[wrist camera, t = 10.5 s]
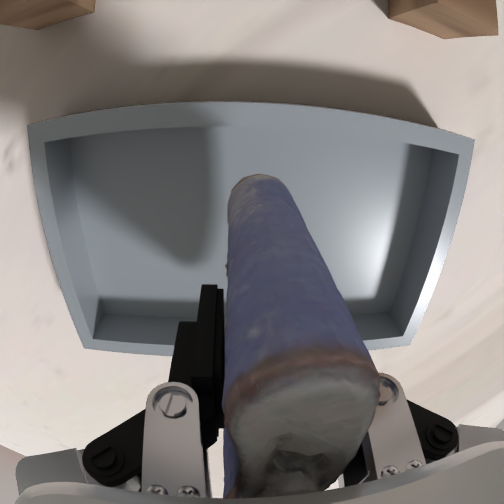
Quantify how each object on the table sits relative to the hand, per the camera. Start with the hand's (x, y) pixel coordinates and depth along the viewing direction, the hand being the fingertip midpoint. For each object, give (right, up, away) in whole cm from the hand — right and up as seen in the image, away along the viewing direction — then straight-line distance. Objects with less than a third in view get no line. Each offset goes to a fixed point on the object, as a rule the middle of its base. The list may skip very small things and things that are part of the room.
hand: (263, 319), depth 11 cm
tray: (0, +4, +7) cm, 8 cm away
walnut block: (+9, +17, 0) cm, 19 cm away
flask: (0, +1, +3) cm, 3 cm away
